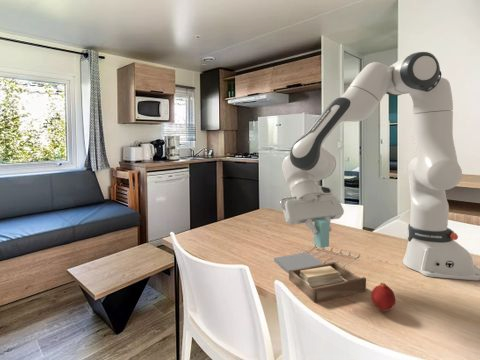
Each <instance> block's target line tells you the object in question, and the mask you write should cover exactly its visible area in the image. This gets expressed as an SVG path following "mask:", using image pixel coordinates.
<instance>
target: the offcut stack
mask: <svg viewBox="0 0 480 360" xmlns="http://www.w3.org/2000/svg"><path fill="white" fill-rule="evenodd" d="M299 277H300V278H301V279H302V280H303V281H305V282H306V283H307V284H308V285H309V286H311V287H312V288H316V287H321V286H325V285H330V284H335V283H339V282H344V281H343V279H344V278H343V277H341V276H340V273H339V272H338V271H337V270H335V269H334V268H332V267H331V266H326V267H320V268H314V269H307V270H301V271H300V276H299Z"/></svg>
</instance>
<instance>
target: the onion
mask: <svg viewBox="0 0 480 360" xmlns="http://www.w3.org/2000/svg"><path fill="white" fill-rule="evenodd" d="M370 299H371V302H372V304H373V305H374V306H375V307H376V308H377V309H378V310H379V311H381V312H386V311H389V310H391V309H393V307H395V305H396V301H397V300H396V299H397V298H396V294H395V293H394V291H393V290H392V289H391V287H390V286H388V285H387V284H386V283H385V282H380V284H378V285H377V286H375V287H374V288H373V289H372V291H371V293H370Z"/></svg>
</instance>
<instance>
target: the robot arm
mask: <svg viewBox="0 0 480 360" xmlns="http://www.w3.org/2000/svg"><path fill="white" fill-rule="evenodd" d="M406 94H408V95H409V96H410V97H411V99H412V104H413V105H412V107H413V108H412V138H413V141H414V145H415V151H416V155H415V156H414V157H412V158H411V159H410V160H409V162H408V164H407V168H406V169H407V174H408V187H409V188H408V189H409V197H410V212H409V213H410V215H409V224H408V227H407V237H406V238H407V246H406V249H405V254H404V257H403V258H402V263H403V265H404V266H405V267H408V268H409V269H411V270H413V271H416V272H419V273H420V274H422V275H423V276H426V277H430V278H443V279H455V280H467V281H480V268H479V267H478V266H477V265H476V264H474V260H473V257H472V255H471V253H470V252H469V251H468V250H467V249H466V248H465V247H463V246H462V245H461V244H459V243H458V242H457V241H456V240H457V239H458V238H459V235H458V234H457V233H456V232H455V231H454V230H452V229H451V228H449V227H448V226H449V225H448V222H449V209H450V206H449V202H448V199H447V194H446V191H447V190H448V191H449V190H451V189H453V188H455V187H456V186H458V184H459V183H460V182H461V180H462V177H463V170H462V169H461V168H462V167H461V166H460V164H459V161H458V158H457V152H456V146H455V143H454V142H455V141H454V135H453V132H454V131H453V122H454V121H453V118H454V117H453V114H454V112H453V110H454V106H453V105H454V104H453V103H454V102H453V93H452V88H451V85H450V82H449V80H448V79H446V78H444V77H442V71H441V67H440V63H439V60H438V59H437V58H436V56H435V55H434V54H433V53H431V52H428V51H420V52H418V51H417V52H414V53H411V54H409V55H407V56H404V57H402V58H400V59H398V60H397V61H396V62H394V63H391V65H386V64H384V63H382V62H378V61H373V62H370V63H368V64H367V65H366V66H364V67H363V68H362V69H361V71H360V72H359V73H358V74H357V75H356V76H355V78H354V79H353V81H352V82H351V83H350V85H349V86H348V87H347V89H346V90H345V92H344V93H343V94H342V95H341V96H339V97H337V98H336V99H334V100H332V102H330V104H328V105H327V107H326V108H325V109H324V110H323V112H322V113H321V114H320V116H319V117H318V118H317V119H316V120H315V122H314V123H313V124H312V125H311V126H310V127H309V128H308V130H307V131H306V132H305V133H304V134H303V135H302V136H301V137H299V139H297V140H296V141H295V142H294V143H293V145H292V146H291V148H290V151H289V154H288V155H287V156H286V157H285V158H284V159H283V161H282V162H281V170H282V175H283V177H284V180H285V182H286V185H287V186H288V187H289V189H290V194H291V196H289V197H282V199H281V200H280V203H279V204H280V207H281V208H282V211H283V216H284V220H285V223H286V224H288V225H290V226H292V225H301V224H305V226H306V227H307V228H308V229H309V230H311V233H312V234H313V235H314V234H318V233H319V232H320V231H319V228H318V227H315V224H314V223H315V220H317V219H325V220H327V221H329V233H331V231H332V227H331V221H333V220H338V219H340V218H342V216H343V215H344V212H345V210H344V208H343V206H342V204H341V202H340V200H339V199H338V197H337V196H335V195H334V194H333V193H334V191H333V189H332V188H331V187H327V186H323V185H319V184H316V183H317V182H320V181H323V180H324V179H327V178H328V177H330V176H331V175H332V174H333V173H334V171H335V169H336V166H337V161H336V157H335V156H334V155H332V153H330V152H329V151H328V150H327V149H325V148H324V147H323V145H324V142H325V141H326V140H327V138H328V137H329V136H330V135H331V134H332V132H333V131H334V130H335V129H336V128H337V126H338V125H339V124H340V123H342V122H346V121H348V122H354V123H355V122H362V121H364V120H366V119H368V118H369V117H370V116H371V115H372V114H373V113H374V112H375V110H376V108H377V107H378V105H379V104H380V102H381V101H382V99H383V97H384V96H385V95H387V96H396V97H398V96H401V95H406Z"/></svg>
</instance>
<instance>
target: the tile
mask: <svg viewBox="0 0 480 360" xmlns="http://www.w3.org/2000/svg"><path fill="white" fill-rule="evenodd" d="M273 261H274V262H275V263H276V264H277V265H278V266H279V267H280V268H282V269H283V270H284V271H285V272H286V273H287V274H288V275H289V270H294V269H300V268H305V267H311V266H316V265H321V264H324V262H322V261H320V259H318V258H316V257H314V256H313V255H311V254H310V253H309V252H306V251H305V252H301V253H297V254H296V253H295V254H290V255H283V256H278V257H274V258H273Z"/></svg>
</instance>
